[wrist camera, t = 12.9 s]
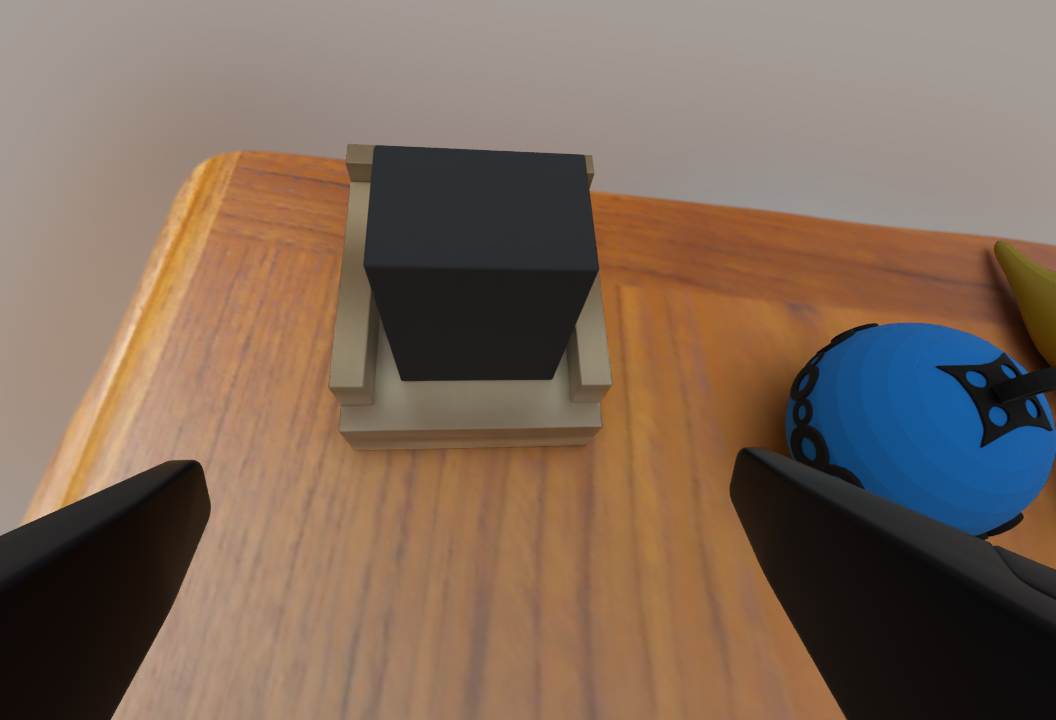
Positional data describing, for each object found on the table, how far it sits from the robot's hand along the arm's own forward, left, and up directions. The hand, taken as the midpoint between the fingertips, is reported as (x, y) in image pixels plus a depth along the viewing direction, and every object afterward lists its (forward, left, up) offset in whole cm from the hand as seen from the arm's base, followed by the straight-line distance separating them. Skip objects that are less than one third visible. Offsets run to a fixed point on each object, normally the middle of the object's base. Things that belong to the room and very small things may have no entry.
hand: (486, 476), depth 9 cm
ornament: (+15, -8, -13) cm, 22 cm away
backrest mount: (+6, +7, -13) cm, 16 cm away
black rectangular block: (+5, +6, -10) cm, 13 cm away
